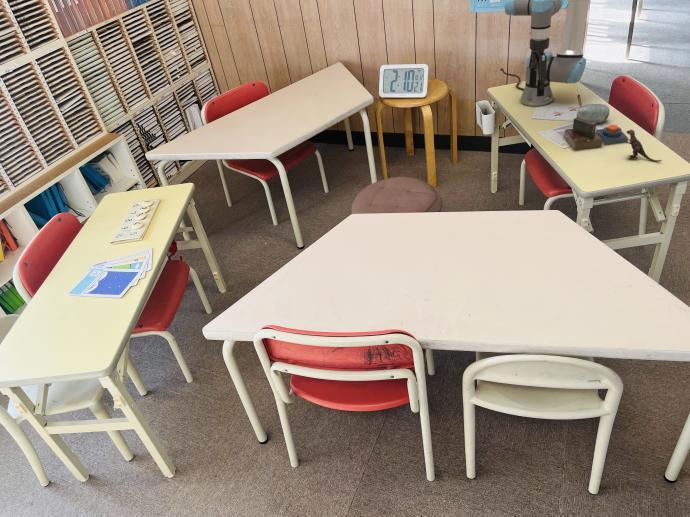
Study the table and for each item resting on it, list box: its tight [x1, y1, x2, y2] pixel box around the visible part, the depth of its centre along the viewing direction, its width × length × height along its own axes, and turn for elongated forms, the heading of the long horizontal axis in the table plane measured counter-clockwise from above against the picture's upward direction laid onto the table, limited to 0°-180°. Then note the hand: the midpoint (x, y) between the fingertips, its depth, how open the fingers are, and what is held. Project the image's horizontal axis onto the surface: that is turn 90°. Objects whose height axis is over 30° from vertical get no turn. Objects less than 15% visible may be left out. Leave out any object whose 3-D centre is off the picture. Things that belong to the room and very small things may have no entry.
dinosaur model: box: [626, 129, 663, 163], centre depth 207 cm, size 4×12×15 cm
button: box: [607, 124, 619, 132], centre depth 225 cm, size 4×4×2 cm
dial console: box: [563, 128, 603, 152], centre depth 228 cm, size 14×14×4 cm
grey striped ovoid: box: [575, 103, 610, 124], centre depth 240 cm, size 14×10×10 cm
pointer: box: [572, 117, 597, 138], centre depth 225 cm, size 10×2×6 cm, turn 28°
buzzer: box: [595, 126, 629, 146], centre depth 227 cm, size 11×9×4 cm
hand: (536, 90), depth 227 cm, fingers open, 11 cm apart
